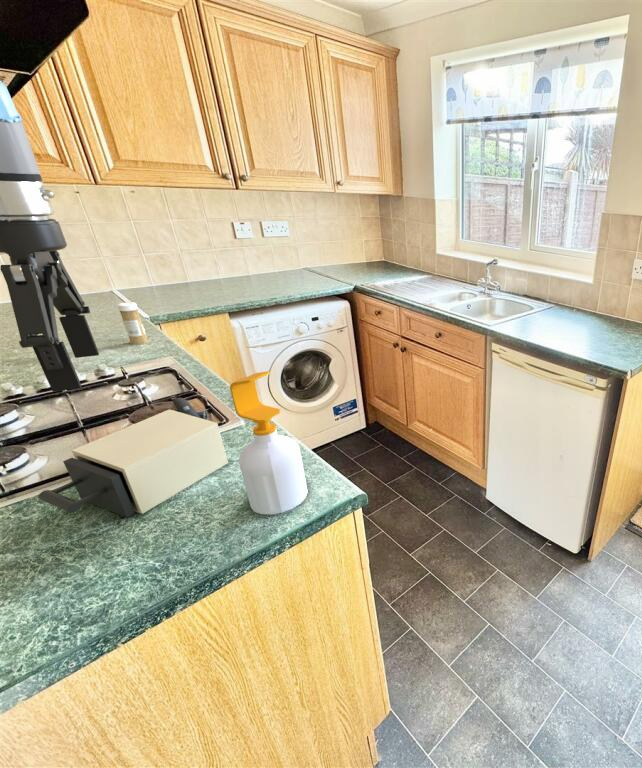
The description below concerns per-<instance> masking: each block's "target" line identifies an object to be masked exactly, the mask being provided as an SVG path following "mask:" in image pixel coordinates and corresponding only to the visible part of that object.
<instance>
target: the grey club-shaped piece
mask: <svg viewBox="0 0 642 768" xmlns="http://www.w3.org/2000/svg"><path fill="white" fill-rule="evenodd" d="M173 405H174V407H175V408H176V409H177V412H181V413H184V414H187V415H191V416H194V417H198V418H201V419H205V420H208V418H209V415H210V414H209V413H208V411H207V410H202V411H196V410H195V408H194V407H193V406H192V404H191V403H190V402H189V401H188V400H187V399H186V398H184V397H177V398H175V399H174V400H173Z"/></svg>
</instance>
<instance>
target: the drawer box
mask: <svg viewBox="0 0 642 768" xmlns="http://www.w3.org/2000/svg"><path fill="white" fill-rule="evenodd" d="M71 453H72V454H73V458H75V459H77V460H80V461H83V462H86V463H88V460H91V461H94V462H96V463H99V464H102V465H105V466H107V467H110V468H113V469H116V470H119V471H121V472H122V473H123V475H124V478H125V480H126V483H127V485H128V487H129V490H130V492H131V495H132V497H133V500H134V502H135V503H133V502H131V501H130V502H131V504H132V507H133V509H134V512H135V513H139V514H141V515H143V514H144V513H147V512H148V511H150V510H152V509H153V508H155V507H156V506H158V505H160V504H161V503H163V502H166V501H167V500H168V499H170V498H172V497H173V496H175V495H177V494H178V493H180V492H182V491H184V490H186V489H187V488H188V487H190V486H192V485H193V484H195V483H197V482H199V481H200V480H202V479H203V478H205V477H207V476H209V475H210V474H212V473H214V472H215V471H217V470H219V469H221V468H222V467H224V466H226V465H227V464H229V461H228V456H227V453H226V449H225V446H224V441H223V439H222V435H221V431H220V428H219V424H218V422H215V421H212V420H208V419H206V420H205V419H201V418H198V417H194V416H191V415H187V414H184V413H181V412H178V410H173V409H167V410H164V411H163V412H160V413H157V414H155V415H153V416H150V417H147V418H145V419H143V420H141V421H138V422H136V423H133V424H131V425H129V426H126V427H124V428H121V429H119V430H116V431H114V432H112V433H110V434H107V435H105V436H102V437H100V438H97V439H95V440H93V441H90V442H87V443H86V444H83V445H81V446H78V447H75V448H74V449H71ZM87 459H88V460H87ZM88 464H89V463H88Z"/></svg>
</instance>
